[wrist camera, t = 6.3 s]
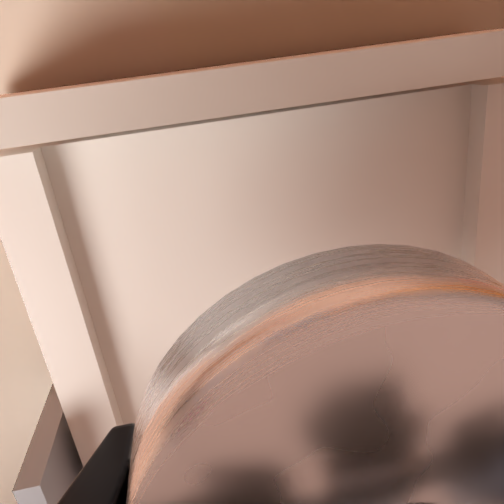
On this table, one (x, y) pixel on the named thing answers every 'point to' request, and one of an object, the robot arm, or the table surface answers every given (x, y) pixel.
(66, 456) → the housing
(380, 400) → the disc
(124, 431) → the robot arm
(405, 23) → the table surface
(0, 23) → the table surface
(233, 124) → the tray
